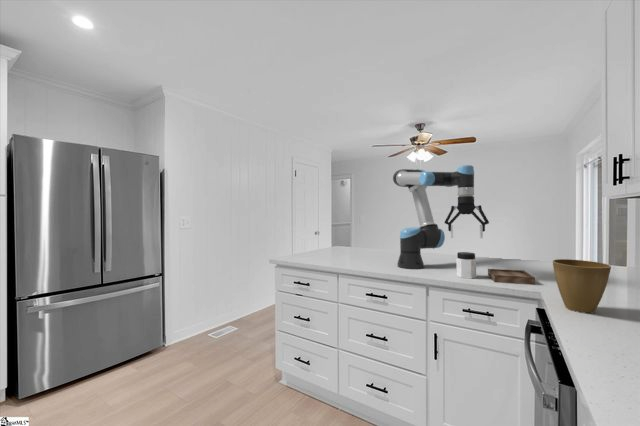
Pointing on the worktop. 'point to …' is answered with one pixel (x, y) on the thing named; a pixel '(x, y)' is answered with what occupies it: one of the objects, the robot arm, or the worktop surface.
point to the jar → (466, 265)
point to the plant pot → (581, 283)
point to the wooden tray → (511, 276)
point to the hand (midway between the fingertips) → (466, 237)
